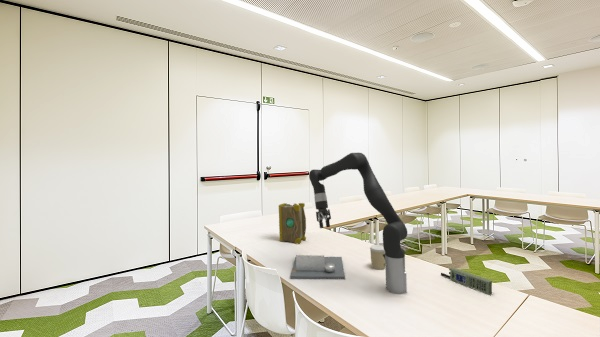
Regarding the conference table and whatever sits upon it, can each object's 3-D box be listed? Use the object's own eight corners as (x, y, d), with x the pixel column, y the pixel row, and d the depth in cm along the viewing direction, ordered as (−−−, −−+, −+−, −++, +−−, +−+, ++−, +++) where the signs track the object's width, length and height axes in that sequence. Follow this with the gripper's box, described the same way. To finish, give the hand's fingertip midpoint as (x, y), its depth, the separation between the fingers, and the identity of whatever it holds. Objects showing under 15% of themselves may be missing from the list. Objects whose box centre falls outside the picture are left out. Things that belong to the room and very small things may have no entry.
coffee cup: (387, 270, 163) (387, 250, 162) (370, 269, 164) (370, 249, 164) (385, 264, 172) (385, 245, 171) (370, 263, 174) (369, 244, 173)
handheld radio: (488, 295, 132) (439, 276, 153) (492, 294, 133) (442, 275, 155) (489, 281, 131) (439, 264, 153) (492, 280, 133) (443, 263, 155)
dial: (335, 268, 163) (334, 254, 163) (335, 272, 157) (334, 257, 157) (297, 267, 165) (296, 253, 165) (296, 272, 159) (295, 257, 159)
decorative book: (278, 241, 224) (277, 204, 223) (285, 237, 234) (284, 201, 233) (300, 244, 215) (299, 205, 214) (307, 240, 225) (306, 203, 224)
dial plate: (341, 259, 183) (341, 256, 183) (345, 279, 153) (344, 276, 153) (295, 259, 185) (295, 256, 185) (290, 278, 156) (290, 276, 155)
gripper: (331, 198, 169) (336, 226, 166) (321, 202, 182) (324, 227, 178) (320, 199, 166) (324, 227, 163) (310, 203, 179) (314, 229, 175)
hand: (324, 227), depth 171 cm, fingers open, 8 cm apart
